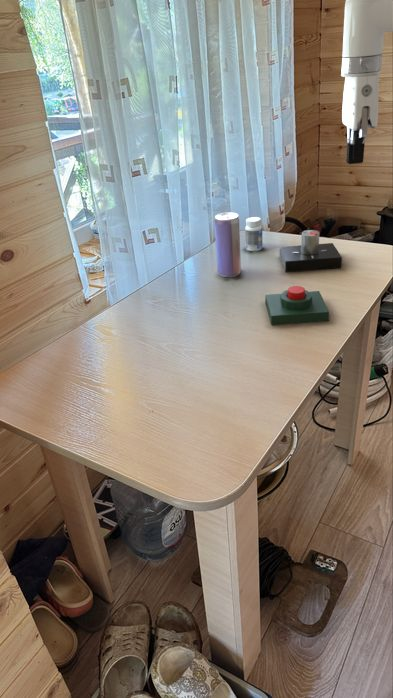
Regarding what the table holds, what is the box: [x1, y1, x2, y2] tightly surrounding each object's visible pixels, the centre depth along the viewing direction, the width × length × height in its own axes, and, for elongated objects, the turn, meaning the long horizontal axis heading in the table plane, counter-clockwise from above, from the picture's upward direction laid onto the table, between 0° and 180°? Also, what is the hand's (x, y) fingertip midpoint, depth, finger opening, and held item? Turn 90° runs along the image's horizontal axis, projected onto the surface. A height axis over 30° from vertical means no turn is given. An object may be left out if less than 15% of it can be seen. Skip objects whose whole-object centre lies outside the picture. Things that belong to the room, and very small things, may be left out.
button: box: [287, 285, 306, 300], centre depth 109 cm, size 4×4×2 cm
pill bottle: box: [244, 216, 263, 252], centre depth 143 cm, size 5×5×8 cm
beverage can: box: [214, 211, 242, 279], centre depth 128 cm, size 6×6×15 cm
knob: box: [300, 229, 321, 255], centre depth 130 cm, size 4×4×5 cm
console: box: [279, 242, 343, 273], centre depth 133 cm, size 14×10×3 cm
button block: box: [264, 289, 330, 326], centre depth 111 cm, size 12×10×4 cm
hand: (354, 162), depth 111 cm, fingers closed
